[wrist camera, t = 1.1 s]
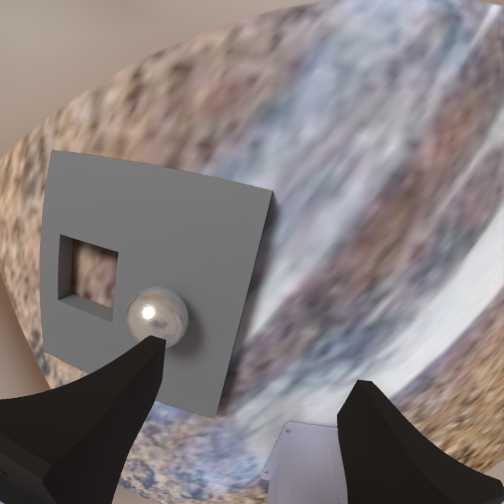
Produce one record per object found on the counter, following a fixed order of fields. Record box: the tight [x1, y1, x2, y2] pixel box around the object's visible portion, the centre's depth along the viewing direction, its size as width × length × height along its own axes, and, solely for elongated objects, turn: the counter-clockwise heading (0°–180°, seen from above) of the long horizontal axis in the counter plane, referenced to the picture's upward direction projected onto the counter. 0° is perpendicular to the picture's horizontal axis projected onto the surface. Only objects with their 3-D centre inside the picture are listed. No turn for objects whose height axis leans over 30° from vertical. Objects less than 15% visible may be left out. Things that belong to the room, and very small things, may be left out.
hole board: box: [40, 150, 273, 419], centre depth 21 cm, size 18×17×2 cm
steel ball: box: [126, 286, 189, 349], centre depth 18 cm, size 4×4×4 cm
